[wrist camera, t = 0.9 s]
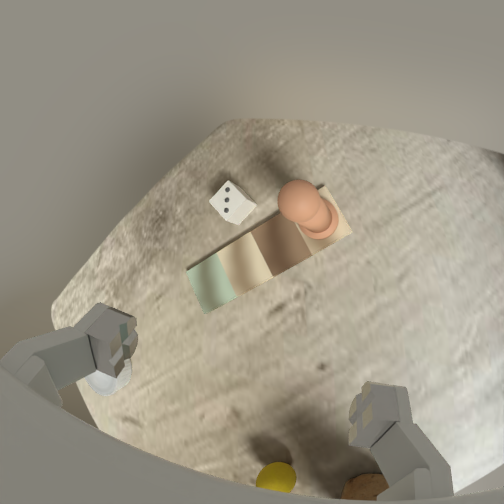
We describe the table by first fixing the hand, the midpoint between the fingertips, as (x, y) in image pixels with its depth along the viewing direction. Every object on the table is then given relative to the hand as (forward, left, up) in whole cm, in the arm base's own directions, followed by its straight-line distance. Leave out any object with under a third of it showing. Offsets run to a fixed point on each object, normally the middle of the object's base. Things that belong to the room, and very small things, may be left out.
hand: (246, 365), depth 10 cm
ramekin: (+43, -6, -31) cm, 53 cm away
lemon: (+19, +21, -31) cm, 42 cm away
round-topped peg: (-2, -10, -30) cm, 32 cm away
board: (+7, -10, -31) cm, 33 cm away
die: (+7, -18, -31) cm, 37 cm away
